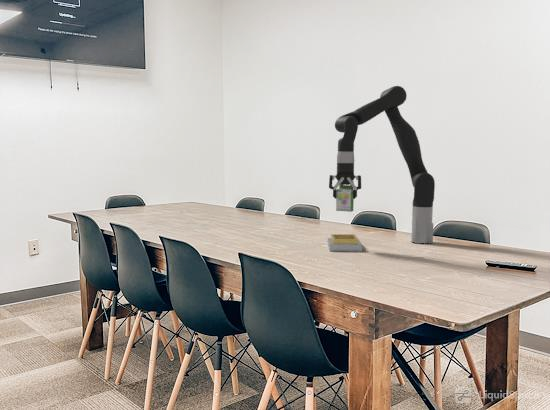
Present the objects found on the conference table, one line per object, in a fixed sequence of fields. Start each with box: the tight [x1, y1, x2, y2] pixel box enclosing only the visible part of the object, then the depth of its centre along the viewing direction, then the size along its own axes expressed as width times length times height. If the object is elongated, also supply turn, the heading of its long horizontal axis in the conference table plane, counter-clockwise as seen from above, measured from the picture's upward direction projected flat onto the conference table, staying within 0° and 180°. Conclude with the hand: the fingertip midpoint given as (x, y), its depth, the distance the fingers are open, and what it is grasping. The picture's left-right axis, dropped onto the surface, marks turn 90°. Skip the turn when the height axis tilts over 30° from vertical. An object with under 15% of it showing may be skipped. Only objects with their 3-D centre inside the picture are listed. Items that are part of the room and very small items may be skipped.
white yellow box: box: [327, 233, 363, 252], centre depth 241 cm, size 14×16×6 cm
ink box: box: [335, 180, 355, 213], centre depth 239 cm, size 7×4×13 cm, turn 61°
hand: (344, 198), depth 240 cm, fingers closed on ink box, 8 cm apart
